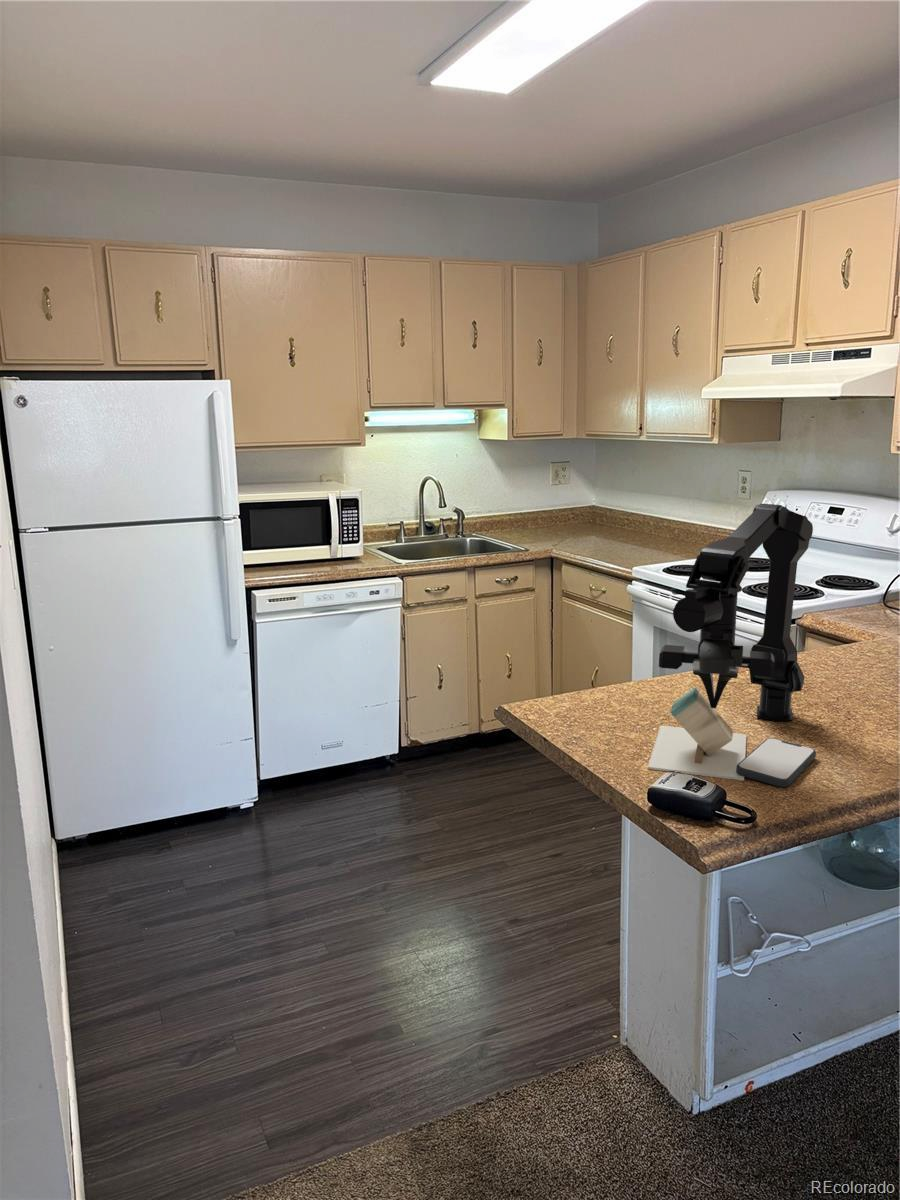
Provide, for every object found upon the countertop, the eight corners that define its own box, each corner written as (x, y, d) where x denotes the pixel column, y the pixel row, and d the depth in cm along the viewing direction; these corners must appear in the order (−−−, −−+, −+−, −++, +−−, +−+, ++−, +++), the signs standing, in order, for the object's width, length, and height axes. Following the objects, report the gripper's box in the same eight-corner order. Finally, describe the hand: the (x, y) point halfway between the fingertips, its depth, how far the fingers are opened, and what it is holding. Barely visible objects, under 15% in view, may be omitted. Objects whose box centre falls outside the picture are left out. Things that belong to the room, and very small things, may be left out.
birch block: (710, 745, 154) (672, 703, 154) (733, 730, 152) (694, 687, 152) (708, 756, 149) (670, 712, 150) (732, 740, 147) (692, 696, 148)
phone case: (786, 790, 137) (817, 757, 149) (787, 781, 136) (818, 749, 148) (732, 775, 142) (766, 744, 154) (733, 766, 142) (767, 736, 154)
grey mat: (660, 727, 164) (660, 720, 164) (746, 736, 159) (746, 729, 158) (647, 768, 146) (647, 761, 145) (744, 780, 140) (744, 772, 140)
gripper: (657, 628, 142) (653, 717, 145) (777, 636, 136) (771, 729, 139) (663, 613, 152) (660, 696, 155) (776, 620, 146) (770, 707, 149)
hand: (713, 707), depth 150 cm, fingers closed
